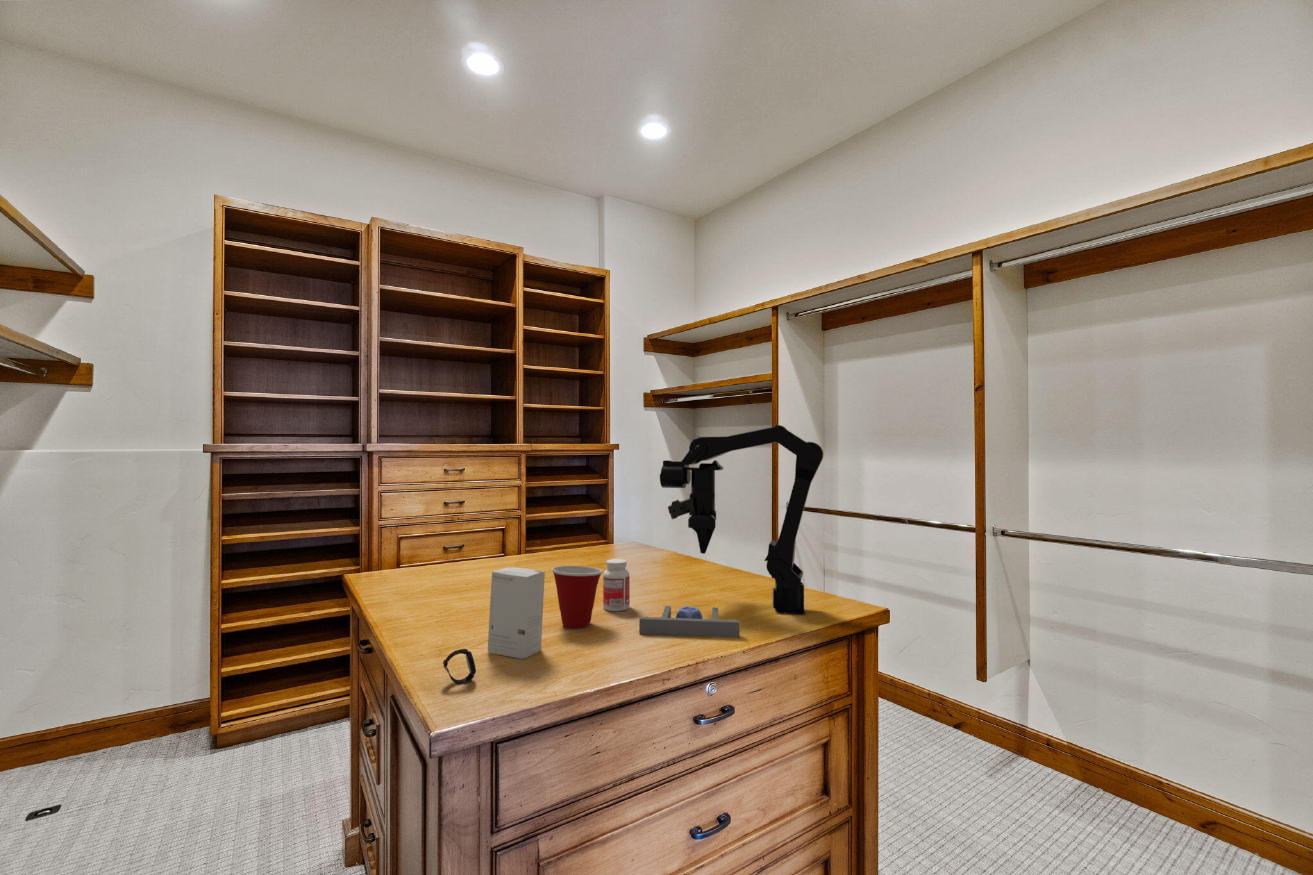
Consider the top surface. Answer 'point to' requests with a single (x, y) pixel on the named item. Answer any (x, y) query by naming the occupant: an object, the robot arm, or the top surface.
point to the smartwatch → (469, 662)
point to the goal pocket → (689, 626)
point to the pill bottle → (616, 586)
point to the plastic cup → (576, 593)
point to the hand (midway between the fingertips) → (703, 553)
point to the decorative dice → (689, 613)
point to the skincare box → (516, 612)
